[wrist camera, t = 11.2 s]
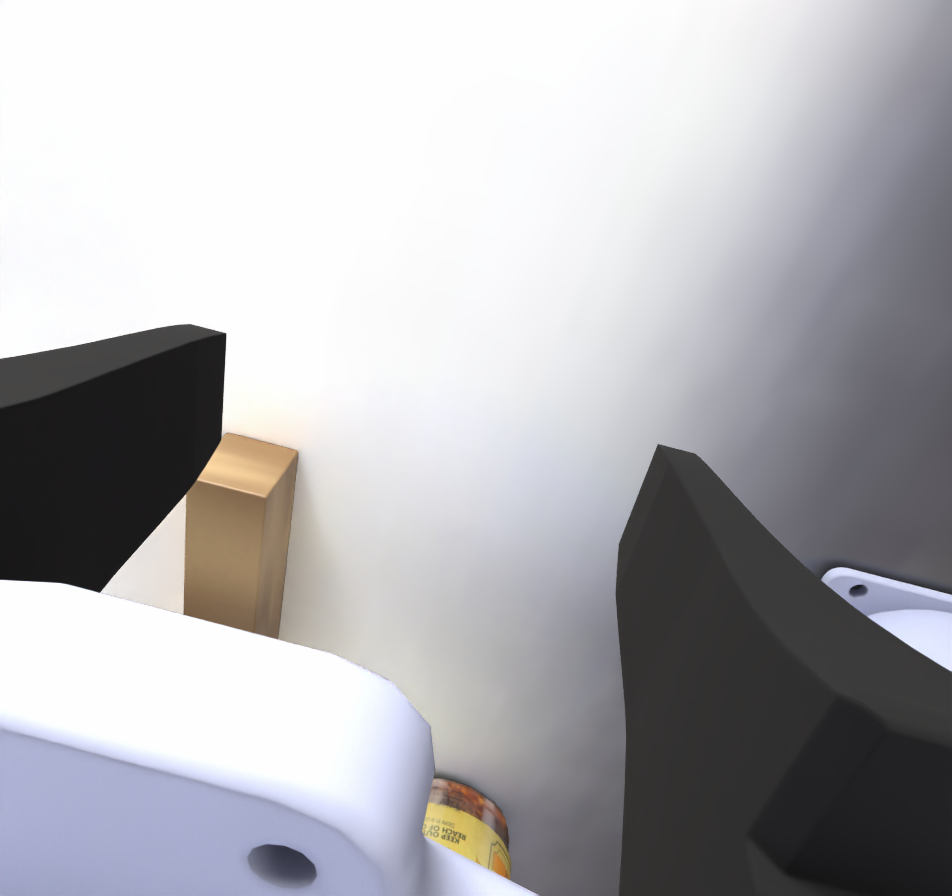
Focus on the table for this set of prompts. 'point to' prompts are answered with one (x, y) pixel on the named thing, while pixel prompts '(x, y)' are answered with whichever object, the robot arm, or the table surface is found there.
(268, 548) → the tan upright bar
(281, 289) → the table surface
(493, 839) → the sauce bottle
